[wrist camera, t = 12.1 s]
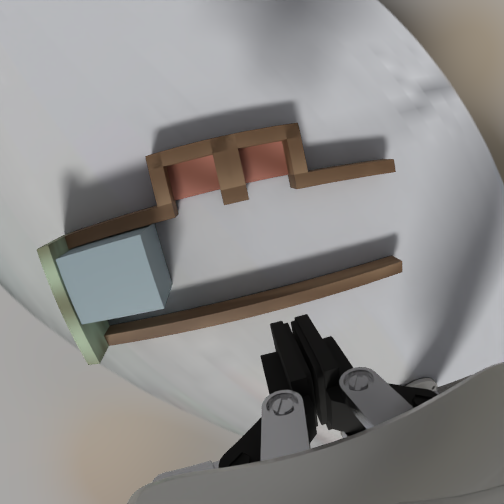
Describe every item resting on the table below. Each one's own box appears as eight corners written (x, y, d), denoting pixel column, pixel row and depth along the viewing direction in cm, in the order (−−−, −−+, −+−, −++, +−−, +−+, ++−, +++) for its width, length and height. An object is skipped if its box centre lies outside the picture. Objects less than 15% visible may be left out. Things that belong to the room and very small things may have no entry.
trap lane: (392, 265, 28) (419, 282, 23) (103, 337, 26) (88, 364, 21) (374, 118, 23) (404, 111, 19) (52, 194, 21) (23, 200, 17)
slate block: (172, 283, 26) (164, 308, 21) (100, 299, 25) (81, 324, 20) (154, 222, 24) (140, 234, 19) (80, 243, 23) (55, 259, 19)
